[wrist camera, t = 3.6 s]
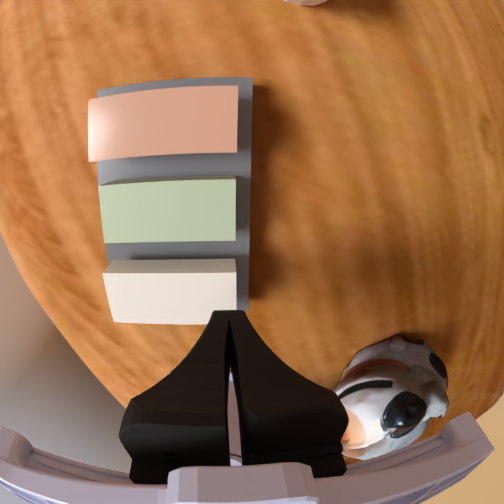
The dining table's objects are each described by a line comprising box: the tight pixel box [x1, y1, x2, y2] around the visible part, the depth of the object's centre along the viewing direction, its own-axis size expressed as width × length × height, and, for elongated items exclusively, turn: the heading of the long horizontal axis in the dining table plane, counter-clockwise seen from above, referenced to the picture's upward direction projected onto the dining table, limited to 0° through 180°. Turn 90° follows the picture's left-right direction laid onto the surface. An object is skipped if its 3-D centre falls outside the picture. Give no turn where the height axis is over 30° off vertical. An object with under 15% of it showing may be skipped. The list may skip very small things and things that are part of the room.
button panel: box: [97, 77, 253, 312], centre depth 18 cm, size 16×10×2 cm, turn 179°
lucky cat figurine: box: [333, 335, 449, 460], centre depth 22 cm, size 15×12×14 cm
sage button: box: [98, 176, 236, 243], centre depth 16 cm, size 4×8×2 cm, turn 89°
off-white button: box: [102, 259, 236, 324], centre depth 17 cm, size 4×8×2 cm, turn 89°
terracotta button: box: [88, 86, 238, 162], centre depth 14 cm, size 4×8×2 cm, turn 89°
